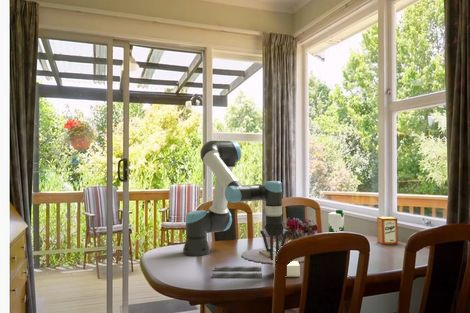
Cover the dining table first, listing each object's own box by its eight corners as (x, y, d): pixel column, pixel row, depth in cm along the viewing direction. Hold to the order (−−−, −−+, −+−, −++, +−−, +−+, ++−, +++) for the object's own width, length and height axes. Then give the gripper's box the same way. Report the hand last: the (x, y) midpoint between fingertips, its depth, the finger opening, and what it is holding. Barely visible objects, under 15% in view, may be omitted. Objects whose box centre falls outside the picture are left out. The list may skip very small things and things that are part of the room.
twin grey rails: (212, 277, 158) (212, 274, 159) (214, 269, 170) (214, 266, 170) (262, 277, 157) (261, 274, 157) (261, 269, 169) (261, 266, 169)
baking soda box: (392, 241, 226) (391, 216, 226) (397, 244, 219) (397, 217, 220) (377, 242, 225) (377, 216, 225) (382, 244, 218) (382, 218, 219)
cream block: (277, 276, 159) (277, 265, 159) (276, 272, 166) (275, 261, 166) (299, 276, 159) (299, 265, 159) (297, 272, 166) (297, 261, 166)
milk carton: (340, 243, 222) (339, 211, 223) (326, 241, 228) (326, 210, 229) (346, 241, 229) (345, 209, 230) (332, 239, 235) (332, 208, 235)
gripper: (259, 216, 160) (260, 269, 160) (289, 216, 160) (289, 269, 159) (259, 214, 168) (260, 264, 167) (287, 213, 167) (288, 264, 166)
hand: (274, 267), depth 163 cm, fingers closed
